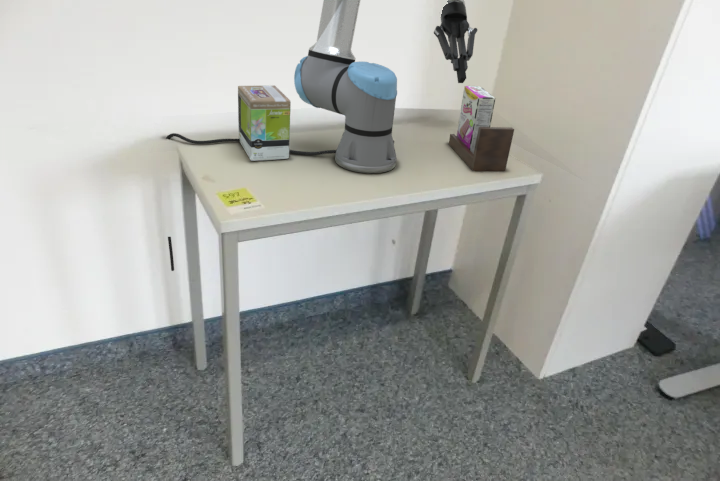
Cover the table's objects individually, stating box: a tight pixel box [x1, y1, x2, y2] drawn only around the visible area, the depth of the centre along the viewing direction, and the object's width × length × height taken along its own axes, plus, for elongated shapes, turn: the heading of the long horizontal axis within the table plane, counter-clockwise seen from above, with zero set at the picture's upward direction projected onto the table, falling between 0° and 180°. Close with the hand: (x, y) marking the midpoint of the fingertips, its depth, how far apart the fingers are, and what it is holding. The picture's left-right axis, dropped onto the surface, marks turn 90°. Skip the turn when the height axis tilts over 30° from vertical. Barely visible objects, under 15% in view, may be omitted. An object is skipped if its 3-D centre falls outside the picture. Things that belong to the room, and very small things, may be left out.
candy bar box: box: [456, 85, 497, 154], centre depth 150 cm, size 11×5×16 cm, turn 10°
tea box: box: [237, 85, 291, 162], centre depth 139 cm, size 15×10×15 cm, turn 22°
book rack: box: [448, 126, 515, 172], centre depth 147 cm, size 9×20×11 cm, turn 10°
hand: (462, 80), depth 158 cm, fingers closed
